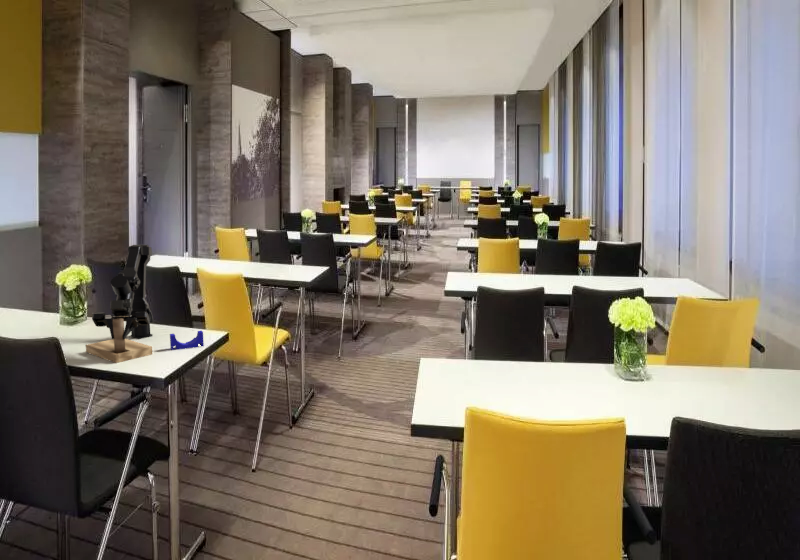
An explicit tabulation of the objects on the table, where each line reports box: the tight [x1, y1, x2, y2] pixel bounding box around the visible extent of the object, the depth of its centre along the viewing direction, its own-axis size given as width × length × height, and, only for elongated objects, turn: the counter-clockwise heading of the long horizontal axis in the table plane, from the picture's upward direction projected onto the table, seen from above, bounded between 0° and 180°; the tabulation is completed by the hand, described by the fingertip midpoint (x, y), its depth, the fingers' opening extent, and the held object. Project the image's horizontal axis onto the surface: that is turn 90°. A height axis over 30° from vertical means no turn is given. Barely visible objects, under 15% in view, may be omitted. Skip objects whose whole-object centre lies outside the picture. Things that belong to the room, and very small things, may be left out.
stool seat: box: [85, 338, 153, 364], centre depth 219 cm, size 14×22×3 cm, turn 54°
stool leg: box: [113, 318, 126, 354], centre depth 211 cm, size 4×4×14 cm
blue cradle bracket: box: [169, 330, 205, 351], centre depth 229 cm, size 12×4×6 cm, turn 120°
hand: (118, 338), depth 210 cm, fingers closed on stool leg, 3 cm apart
